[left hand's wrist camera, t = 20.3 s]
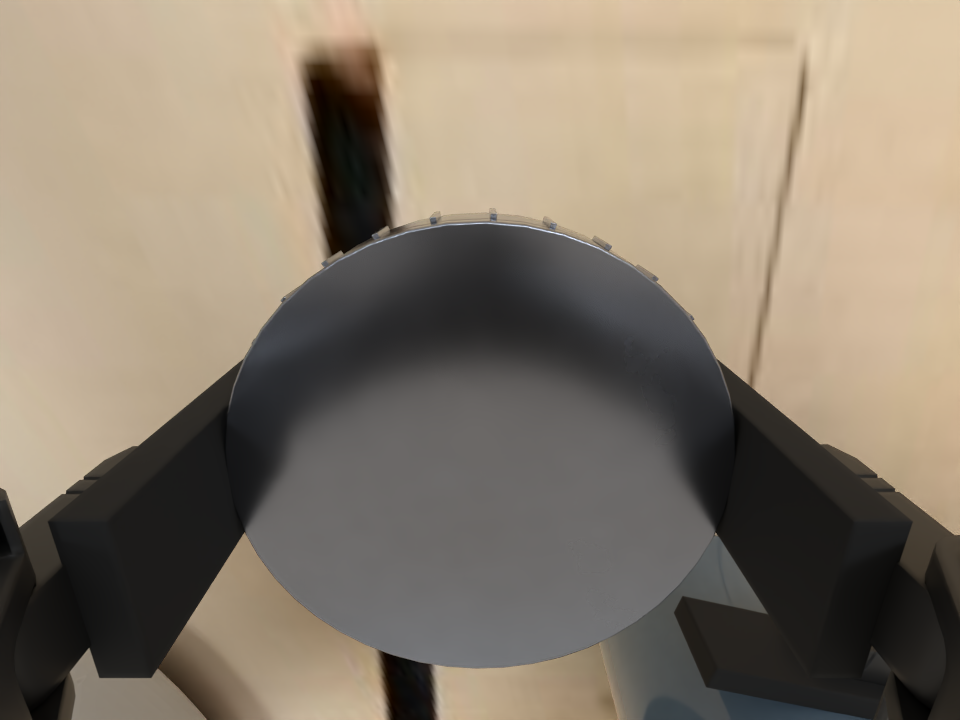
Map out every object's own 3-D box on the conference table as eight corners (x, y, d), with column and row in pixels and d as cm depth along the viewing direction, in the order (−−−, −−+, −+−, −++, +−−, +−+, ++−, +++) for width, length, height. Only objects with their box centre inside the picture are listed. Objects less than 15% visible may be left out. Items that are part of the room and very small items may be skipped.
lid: (635, 123, 9) (664, 116, 8) (748, 545, 13) (784, 597, 11) (164, 317, 11) (113, 341, 9) (373, 658, 14) (360, 718, 12)
